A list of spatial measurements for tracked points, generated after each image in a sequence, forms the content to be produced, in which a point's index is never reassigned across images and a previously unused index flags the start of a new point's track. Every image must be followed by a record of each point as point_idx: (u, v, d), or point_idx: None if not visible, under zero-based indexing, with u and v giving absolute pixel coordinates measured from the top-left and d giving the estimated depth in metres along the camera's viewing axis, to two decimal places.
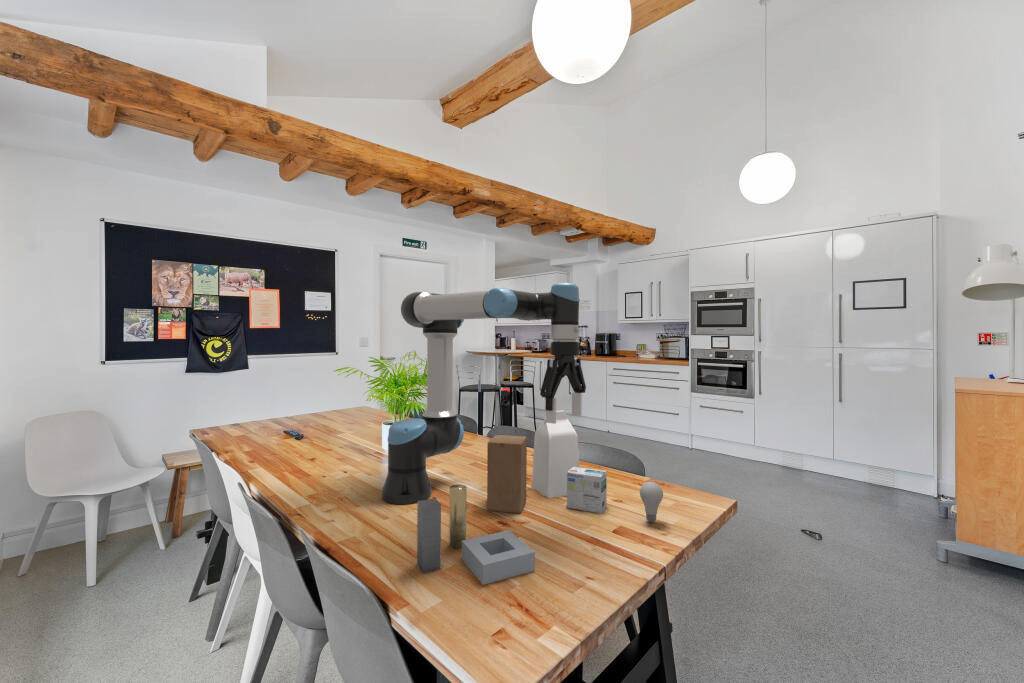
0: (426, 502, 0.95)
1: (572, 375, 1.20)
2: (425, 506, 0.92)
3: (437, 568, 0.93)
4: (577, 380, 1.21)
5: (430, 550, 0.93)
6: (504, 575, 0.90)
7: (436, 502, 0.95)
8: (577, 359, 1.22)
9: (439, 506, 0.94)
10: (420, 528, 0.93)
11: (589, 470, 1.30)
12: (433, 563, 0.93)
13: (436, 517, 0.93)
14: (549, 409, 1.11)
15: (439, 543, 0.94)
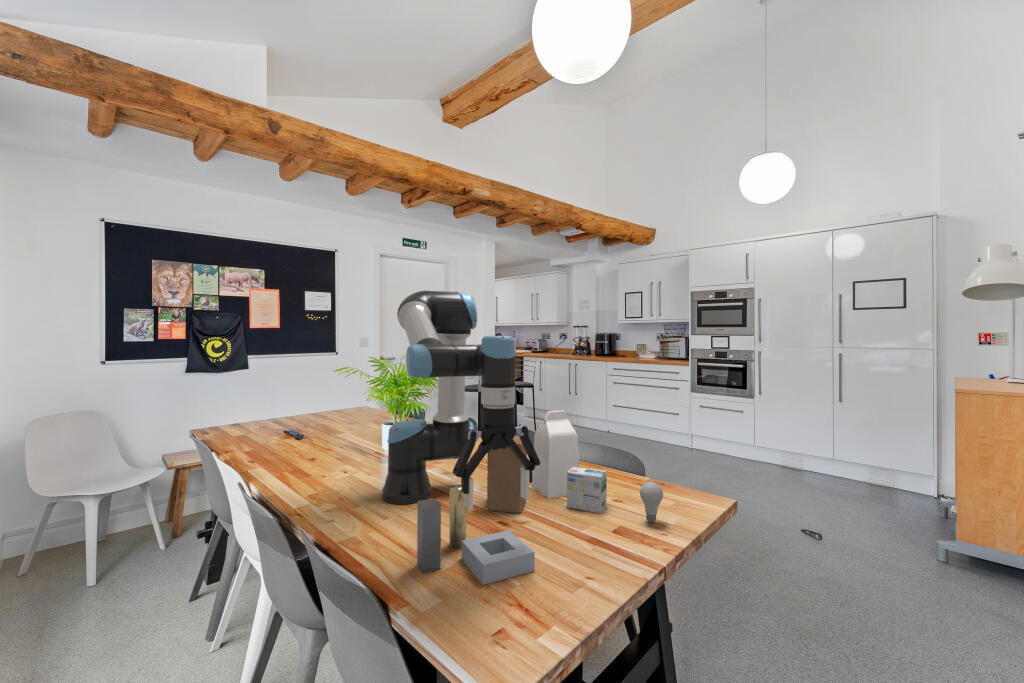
0: (426, 502, 0.95)
1: (512, 448, 0.96)
2: (425, 506, 0.92)
3: (437, 568, 0.93)
4: (520, 454, 0.97)
5: (430, 550, 0.93)
6: (504, 575, 0.90)
7: (436, 502, 0.95)
8: (522, 427, 0.98)
9: (439, 506, 0.94)
10: (420, 528, 0.93)
11: (589, 470, 1.30)
12: (433, 563, 0.93)
13: (436, 517, 0.93)
14: (463, 492, 0.91)
15: (439, 543, 0.94)
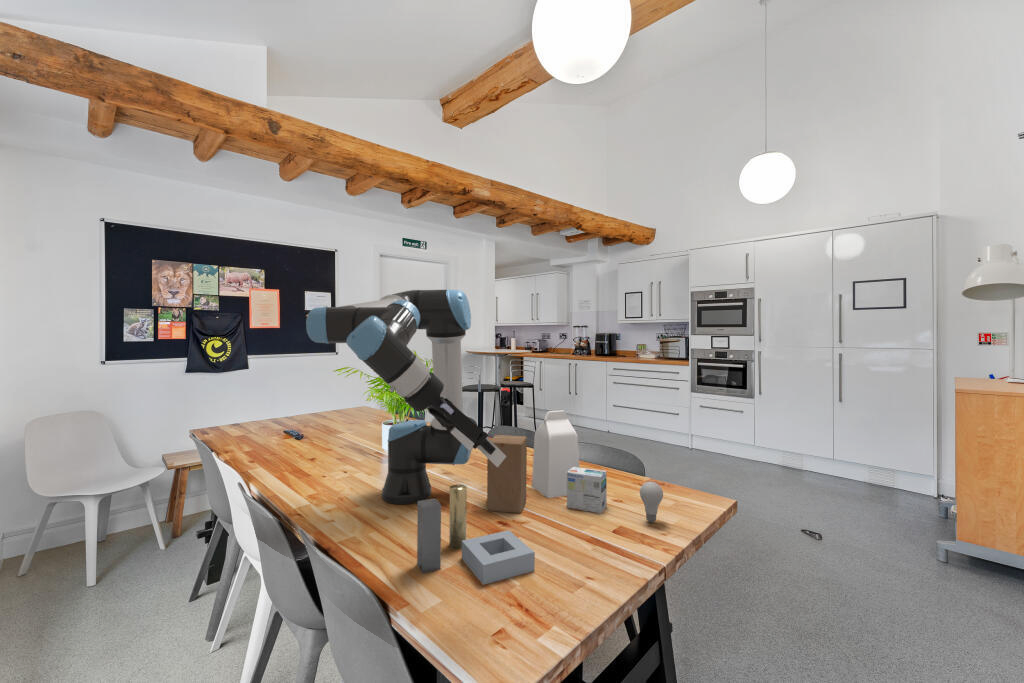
0: (426, 502, 0.95)
1: None
2: (425, 506, 0.92)
3: (437, 568, 0.93)
4: (459, 430, 0.83)
5: (430, 550, 0.93)
6: (504, 575, 0.90)
7: (436, 502, 0.95)
8: None
9: (439, 506, 0.94)
10: (420, 528, 0.93)
11: (589, 470, 1.30)
12: (433, 563, 0.93)
13: (436, 517, 0.93)
14: None
15: (439, 543, 0.94)
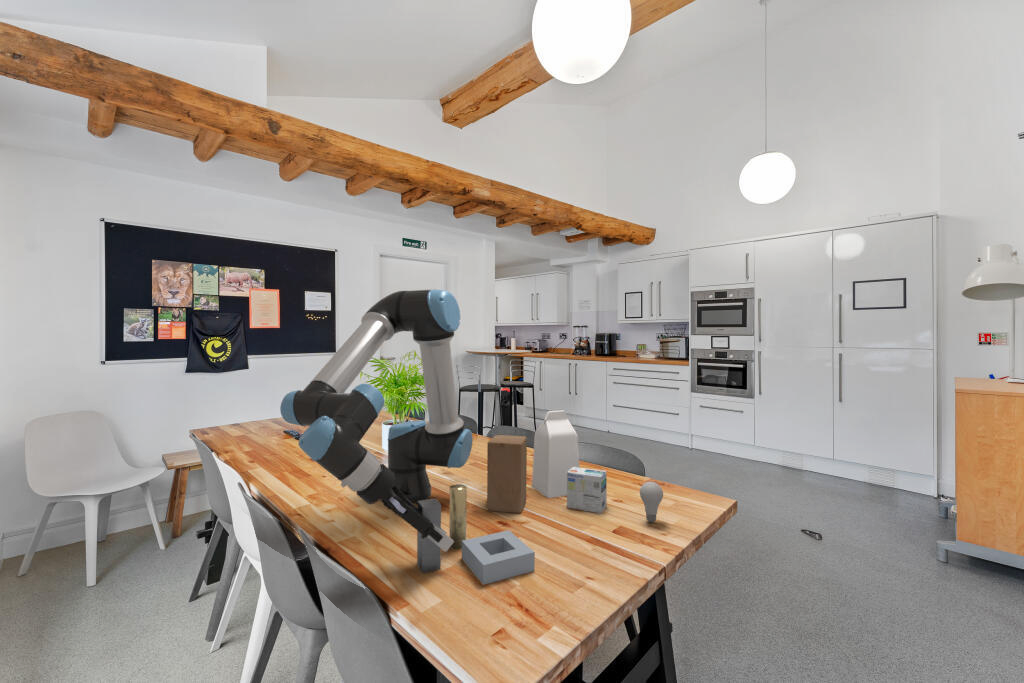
0: (426, 502, 0.95)
1: None
2: (425, 506, 0.92)
3: (437, 568, 0.93)
4: None
5: (430, 550, 0.93)
6: (504, 575, 0.90)
7: (436, 502, 0.95)
8: None
9: (439, 506, 0.94)
10: None
11: (589, 470, 1.30)
12: (433, 563, 0.93)
13: (436, 517, 0.93)
14: None
15: None
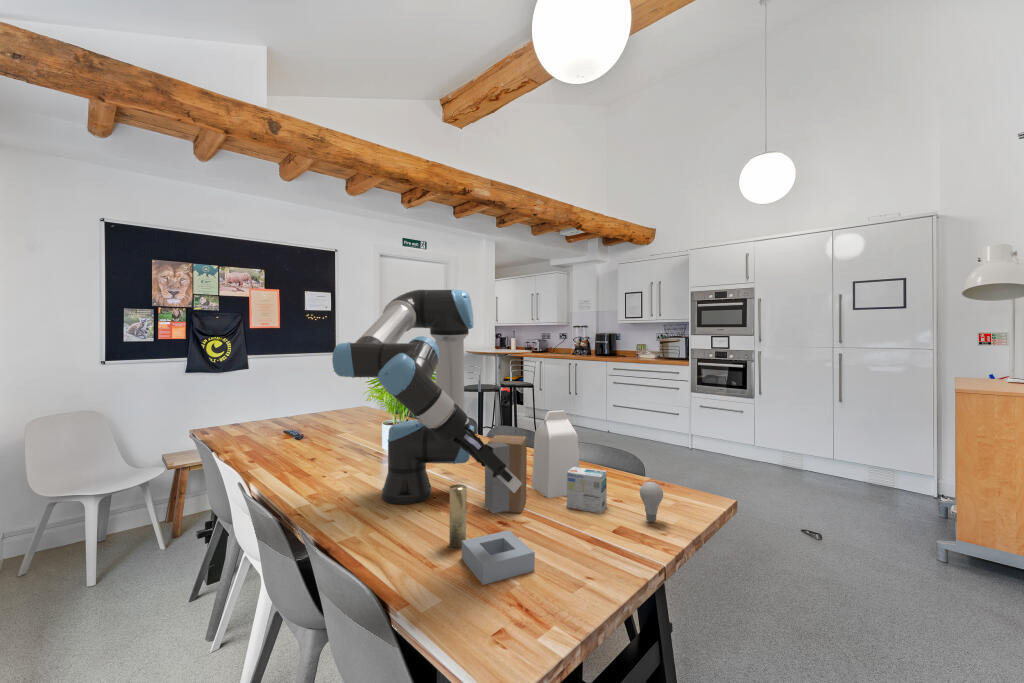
0: (494, 444, 0.96)
1: None
2: (495, 447, 0.94)
3: (506, 509, 0.95)
4: (481, 460, 0.91)
5: (499, 490, 0.94)
6: (504, 575, 0.90)
7: (504, 444, 0.96)
8: (470, 445, 0.87)
9: (508, 447, 0.95)
10: (489, 469, 0.94)
11: (589, 470, 1.30)
12: (502, 503, 0.94)
13: (505, 458, 0.94)
14: None
15: None
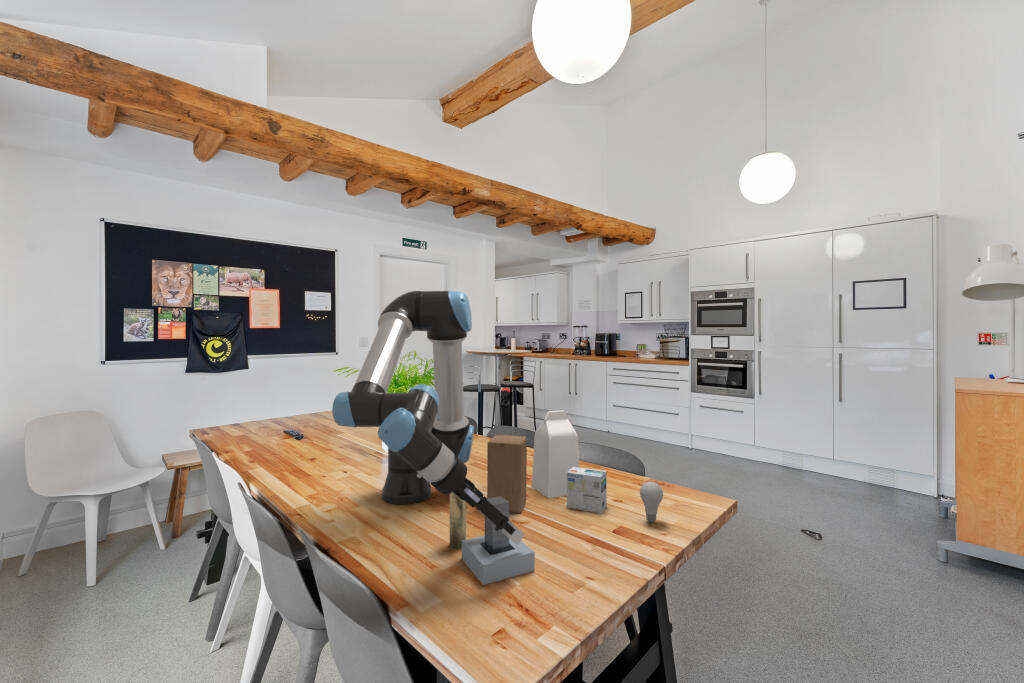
0: (494, 500, 0.96)
1: None
2: (494, 504, 0.94)
3: None
4: None
5: (499, 547, 0.94)
6: (504, 575, 0.90)
7: (503, 500, 0.96)
8: None
9: (508, 503, 0.95)
10: (489, 526, 0.95)
11: (589, 470, 1.30)
12: None
13: (504, 514, 0.95)
14: None
15: (508, 540, 0.95)
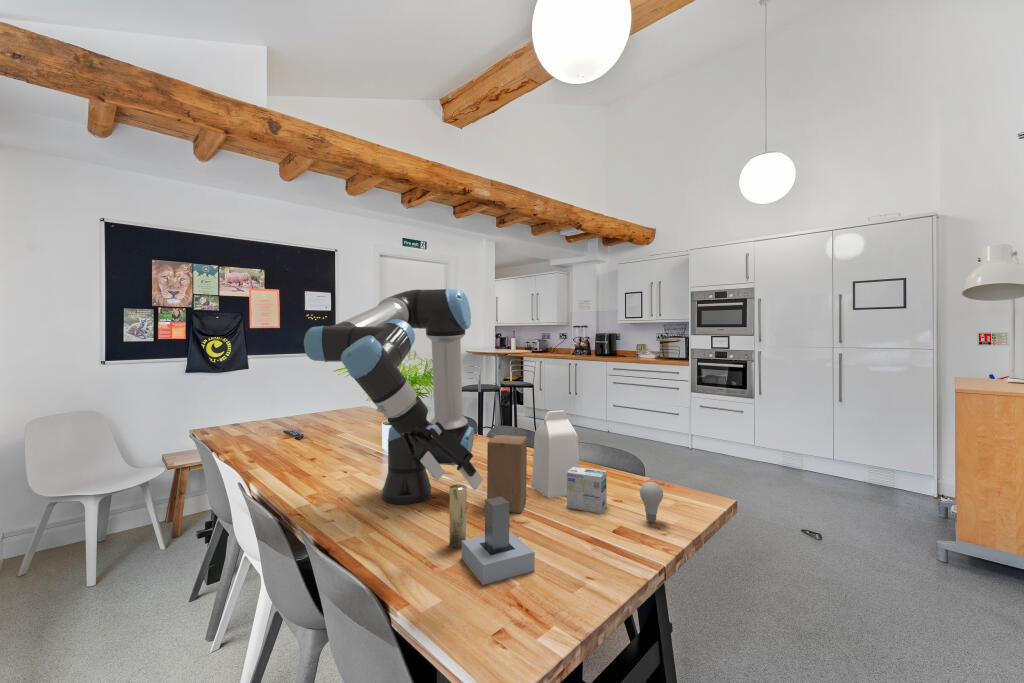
0: (494, 500, 0.96)
1: None
2: (495, 504, 0.94)
3: None
4: (443, 452, 0.86)
5: (499, 547, 0.94)
6: (504, 575, 0.90)
7: (504, 500, 0.96)
8: None
9: (508, 504, 0.95)
10: (489, 526, 0.95)
11: (589, 470, 1.30)
12: None
13: (505, 515, 0.95)
14: None
15: (508, 541, 0.95)
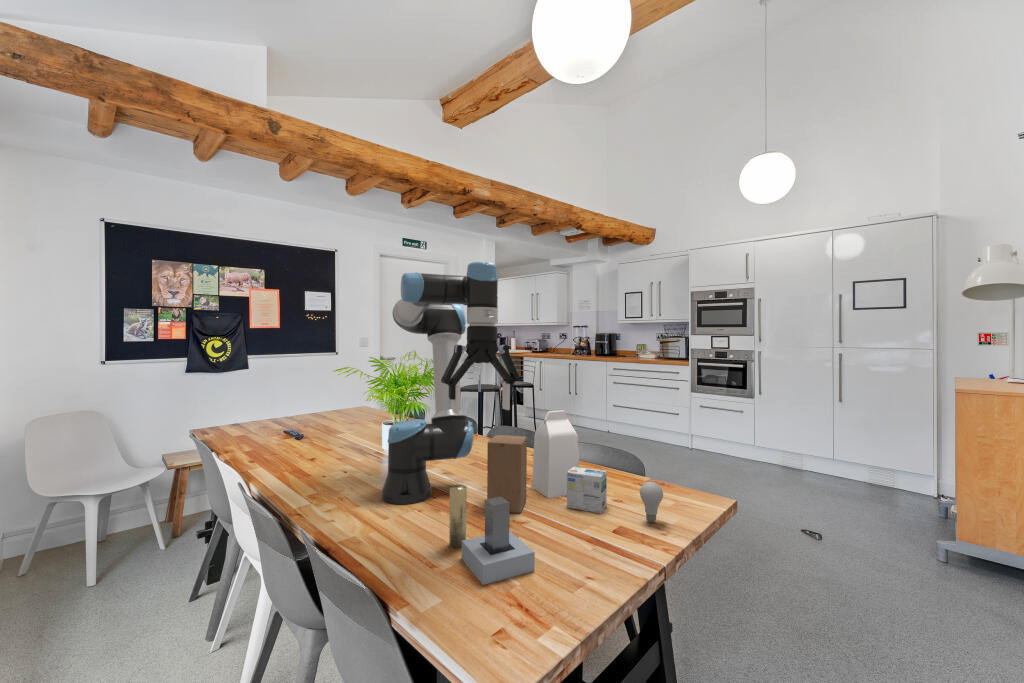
0: (494, 500, 0.96)
1: (494, 363, 1.09)
2: (495, 504, 0.94)
3: None
4: (502, 369, 1.09)
5: (499, 547, 0.94)
6: (504, 575, 0.90)
7: (504, 500, 0.96)
8: (504, 346, 1.10)
9: (508, 504, 0.95)
10: (489, 526, 0.95)
11: (589, 470, 1.30)
12: None
13: (505, 515, 0.95)
14: (450, 398, 1.04)
15: (508, 541, 0.95)
